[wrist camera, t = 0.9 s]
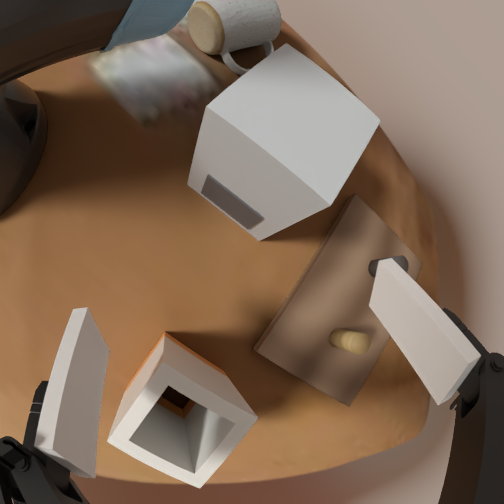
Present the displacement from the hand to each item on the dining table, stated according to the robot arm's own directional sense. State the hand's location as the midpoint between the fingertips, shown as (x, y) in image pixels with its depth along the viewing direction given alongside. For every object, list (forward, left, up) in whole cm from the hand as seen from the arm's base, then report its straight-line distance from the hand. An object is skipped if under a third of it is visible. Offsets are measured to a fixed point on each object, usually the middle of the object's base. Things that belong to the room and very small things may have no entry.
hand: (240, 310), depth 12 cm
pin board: (+12, +8, -12) cm, 19 cm away
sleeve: (+2, -7, -12) cm, 14 cm away
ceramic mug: (-15, +24, -12) cm, 31 cm away
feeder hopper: (-3, +11, -12) cm, 17 cm away
